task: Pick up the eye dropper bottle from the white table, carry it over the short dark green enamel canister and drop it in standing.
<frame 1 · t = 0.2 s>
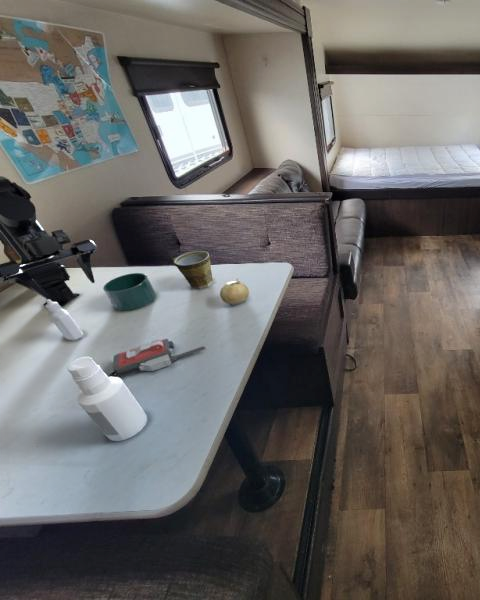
hand: (72, 290, 84), 15 cm above the table, tool tilted 30°, fingers open, 9 cm apart
canister: (136, 301, 106), on the table
sauce bottle: (43, 284, 115), on the table
onion: (237, 301, 105), on the table
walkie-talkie: (162, 359, 84), on the table
eye dropper bottle: (74, 336, 92), on the table
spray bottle: (128, 427, 68), on the table
ceramic cup: (198, 284, 114), on the table
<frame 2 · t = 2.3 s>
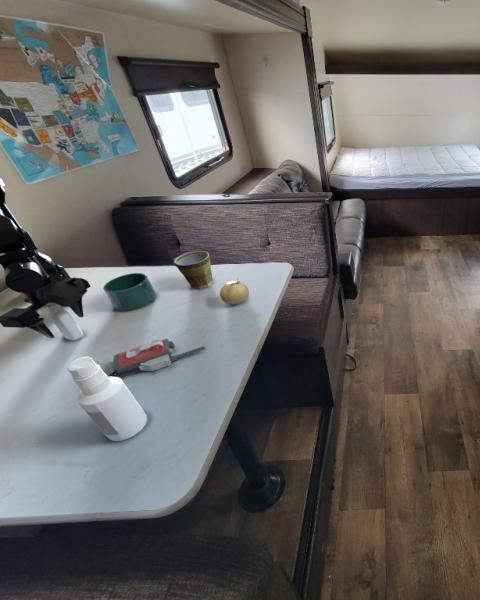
hand: (67, 326, 90), 3 cm above the table, tool pointing down, fingers closed on eye dropper bottle, 8 cm apart
eye dropper bottle: (74, 336, 92), on the table, touching gripper
everything else where it was.
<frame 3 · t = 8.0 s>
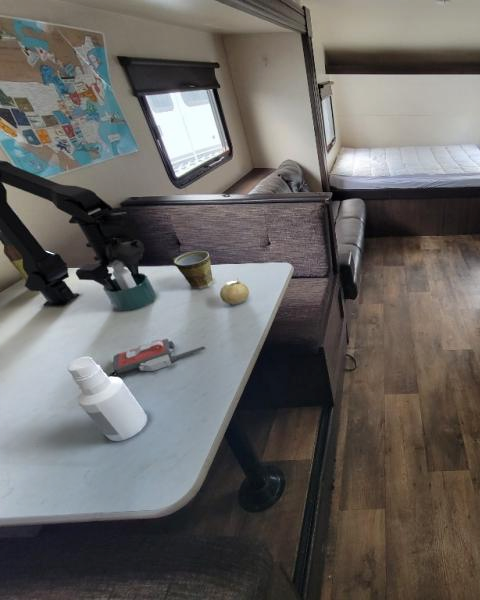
hand: (126, 284, 102), 6 cm above the table, tool pointing down, fingers closed on eye dropper bottle, 8 cm apart
eye dropper bottle: (132, 294, 104), point 3 cm above the table, touching gripper
everything else where it was.
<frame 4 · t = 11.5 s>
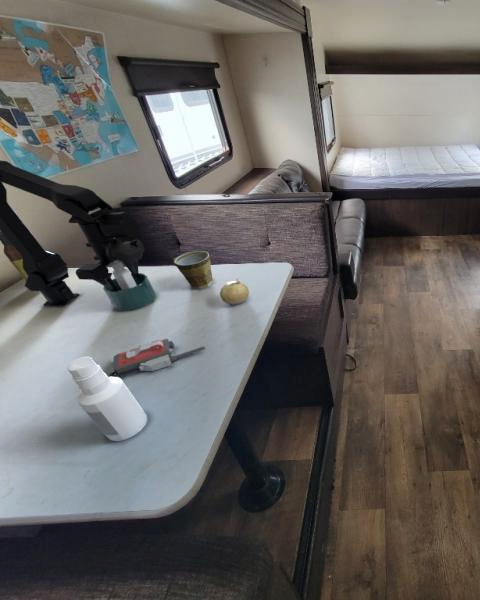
hand: (126, 284, 102), 6 cm above the table, tool pointing down, fingers closed on eye dropper bottle, 8 cm apart
eye dropper bottle: (132, 293, 104), point 3 cm above the table, touching gripper
everything else where it was.
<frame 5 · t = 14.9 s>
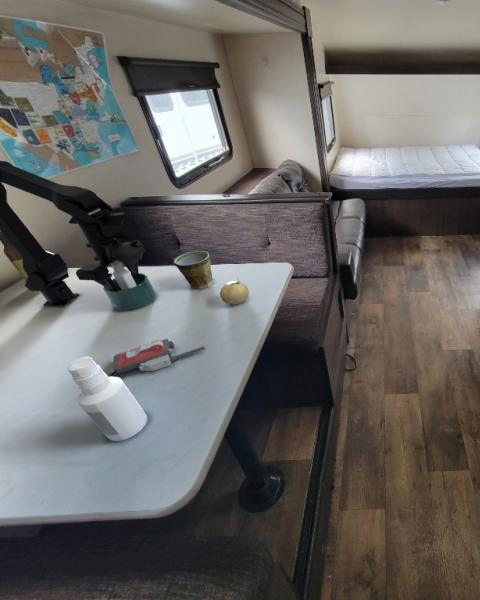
hand: (126, 285, 102), 6 cm above the table, tool pointing down, fingers closed on eye dropper bottle, 8 cm apart
eye dropper bottle: (132, 294, 104), point 2 cm above the table, touching gripper
everything else where it was.
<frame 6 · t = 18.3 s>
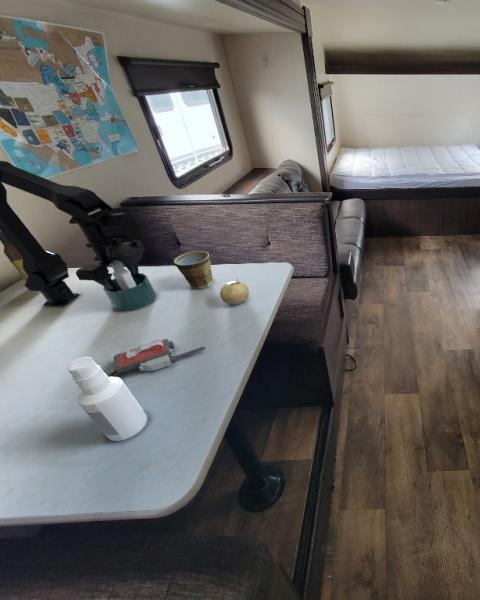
hand: (126, 285, 102), 6 cm above the table, tool pointing down, fingers closed on eye dropper bottle, 8 cm apart
eye dropper bottle: (132, 294, 104), point 2 cm above the table, touching gripper
everything else where it was.
when the fingers open (7 cm above the table, at t = 21.3 s): eye dropper bottle drops 3 cm, resting on canister.
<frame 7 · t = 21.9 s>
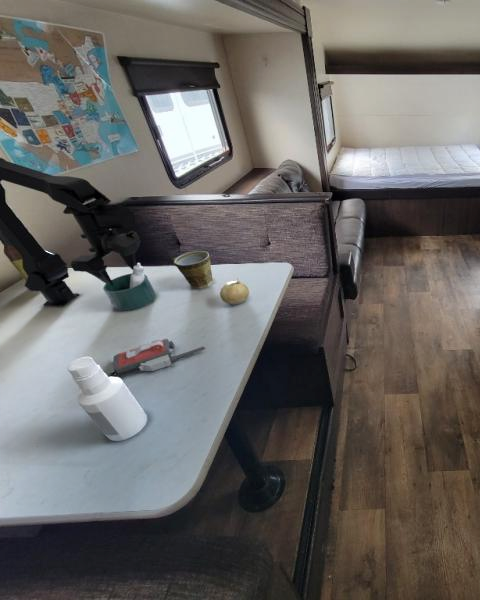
hand: (123, 277, 101), 9 cm above the table, tool pointing down, fingers open, 9 cm apart
eye dropper bottle: (136, 297, 105), point 1 cm above the table, touching canister
everything else where it was.
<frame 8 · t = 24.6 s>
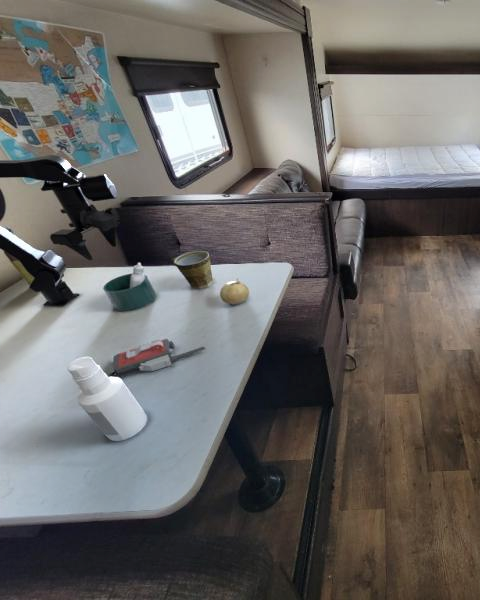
hand: (103, 253, 105), 13 cm above the table, tool pointing down, fingers open, 9 cm apart
nothing on the table moved.
at the end: eye dropper bottle inside the target area in the canister (0.4 cm from its centre), point 1.1 cm above the canister's base; the gripper is holding nothing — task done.
